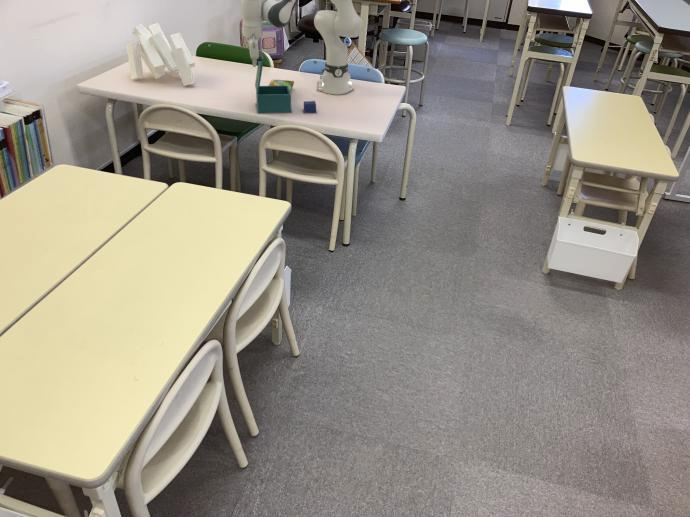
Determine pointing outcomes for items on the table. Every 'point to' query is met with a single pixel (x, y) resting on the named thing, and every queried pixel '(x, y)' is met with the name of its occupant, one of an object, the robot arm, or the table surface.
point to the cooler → (273, 99)
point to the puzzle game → (282, 83)
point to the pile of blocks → (159, 54)
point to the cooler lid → (259, 72)
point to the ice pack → (309, 107)
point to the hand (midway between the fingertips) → (253, 63)
